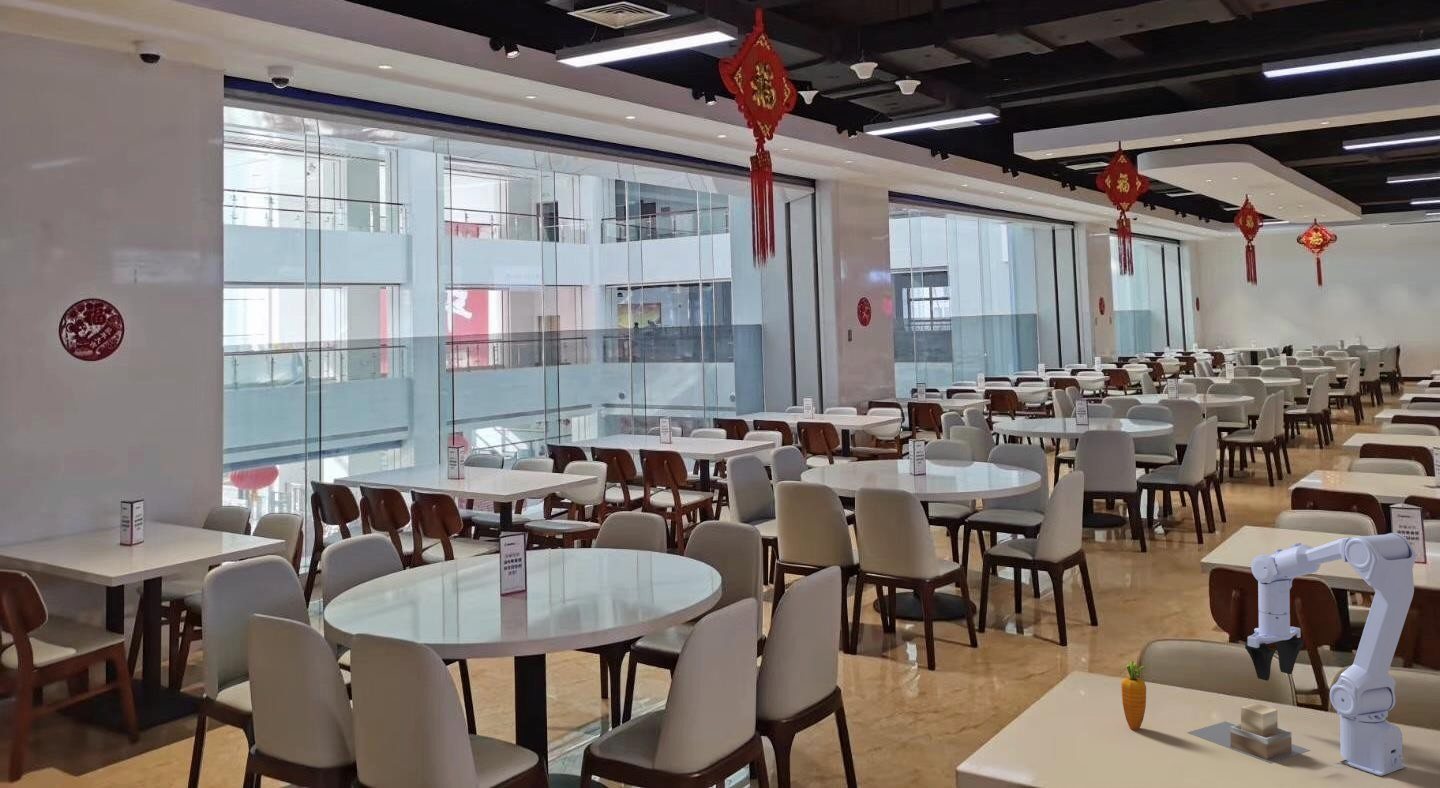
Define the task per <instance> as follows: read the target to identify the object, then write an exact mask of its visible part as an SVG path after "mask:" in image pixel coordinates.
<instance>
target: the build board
mask: <svg viewBox="0 0 1440 788" xmlns="http://www.w3.org/2000/svg"><path fill="white" fill-rule="evenodd" d="M1235 725H1236V724H1234V723H1231V722H1228V721H1223V722H1222V721H1221V722H1218V723H1215V724H1211V725H1209V726H1204V727H1202V728H1197V729H1193V730H1191V731H1187V732H1186V733H1187V734H1189V735H1192V736H1194V737H1197V738H1200V739H1203V740H1205V741H1208V742H1211V743H1214V744H1215V745H1218V746H1222V747H1224V748H1227V749H1230V750H1232V751H1234V752H1235V751H1236V752H1238V753H1240V754H1244V755H1246V756H1249V757H1251V758H1255V759H1258V760H1260V761H1263V762H1265V763H1268V764H1273V763H1276V762H1279V761H1283V760H1285V759H1290V758H1292V757H1294V756H1297V755H1298V756H1299V755H1301V754H1303V753H1306V752H1310V751H1311V750H1310V749H1307V748H1304V747H1301V746H1299V745H1295V744H1293V743H1292V752H1290V753H1287V754H1284V755H1281V756H1278V757H1275V758H1272V759H1269V760H1265V759H1262V758H1260V757H1257V756H1254V755H1251V754H1249V753H1246V752H1243V751H1240V750H1238V749H1235V748H1232V747H1231V739H1230V727H1231V726H1235Z"/></svg>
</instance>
